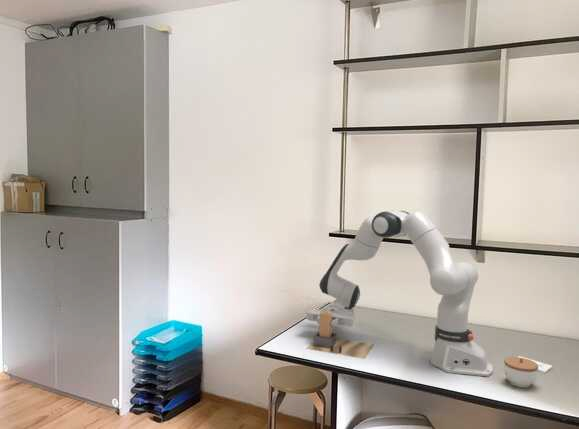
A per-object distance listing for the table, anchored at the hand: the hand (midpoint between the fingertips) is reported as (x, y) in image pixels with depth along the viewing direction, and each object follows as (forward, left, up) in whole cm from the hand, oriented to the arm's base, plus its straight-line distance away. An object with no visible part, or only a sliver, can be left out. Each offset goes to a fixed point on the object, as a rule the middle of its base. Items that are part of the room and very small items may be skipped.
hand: (325, 322), depth 199 cm
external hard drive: (-79, -17, -11) cm, 81 cm away
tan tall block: (0, -1, -8) cm, 8 cm away
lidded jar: (-73, +3, -11) cm, 74 cm away
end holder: (0, -1, -10) cm, 10 cm away
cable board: (-7, -1, -11) cm, 12 cm away
